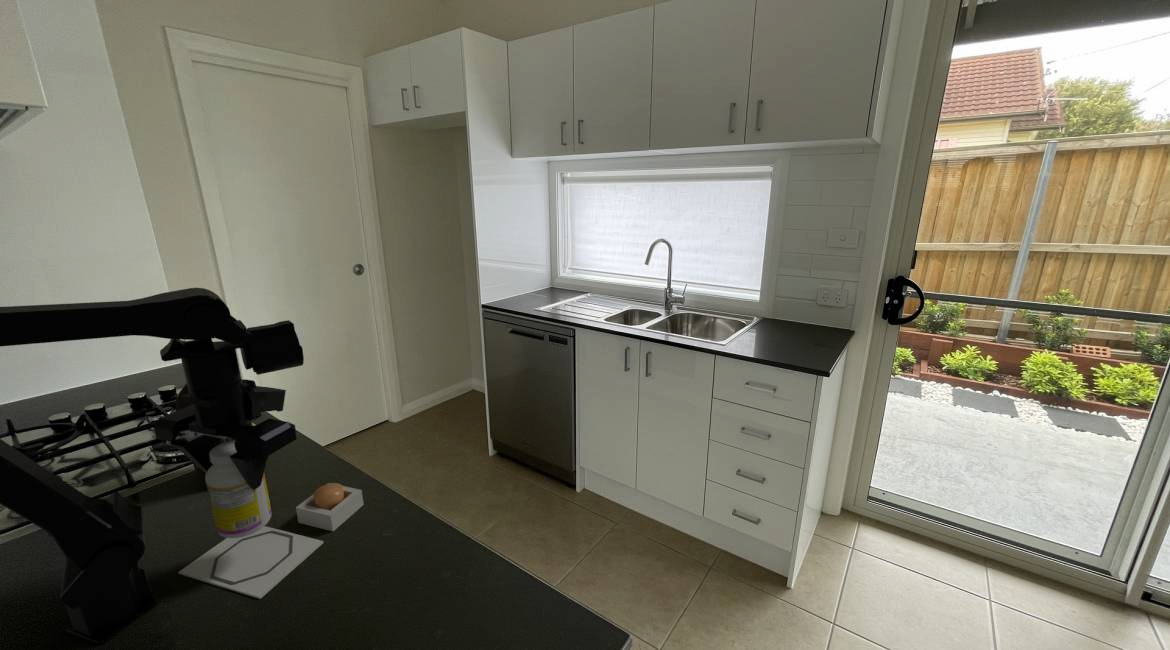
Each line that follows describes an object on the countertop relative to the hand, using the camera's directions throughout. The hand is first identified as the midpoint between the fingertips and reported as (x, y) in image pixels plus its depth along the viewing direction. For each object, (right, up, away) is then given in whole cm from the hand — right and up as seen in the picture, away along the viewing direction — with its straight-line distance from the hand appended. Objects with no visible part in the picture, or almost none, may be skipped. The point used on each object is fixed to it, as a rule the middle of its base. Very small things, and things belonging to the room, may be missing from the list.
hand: (237, 483), depth 68 cm
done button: (+6, -8, +13) cm, 16 cm away
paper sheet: (0, -12, +4) cm, 13 cm away
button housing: (+6, -10, +13) cm, 18 cm away
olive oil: (-19, -6, +24) cm, 31 cm away
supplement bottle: (0, -7, +2) cm, 7 cm away
